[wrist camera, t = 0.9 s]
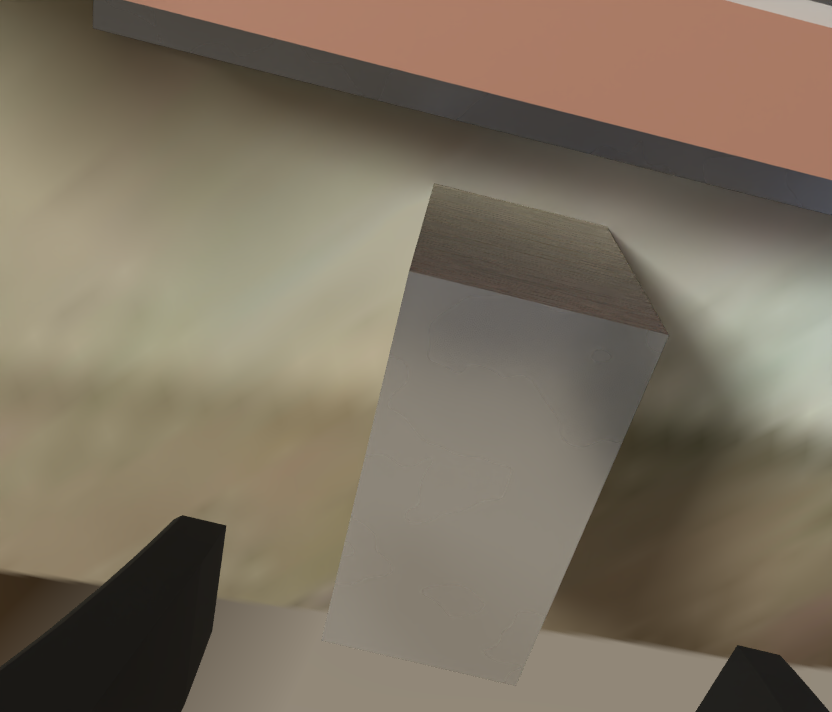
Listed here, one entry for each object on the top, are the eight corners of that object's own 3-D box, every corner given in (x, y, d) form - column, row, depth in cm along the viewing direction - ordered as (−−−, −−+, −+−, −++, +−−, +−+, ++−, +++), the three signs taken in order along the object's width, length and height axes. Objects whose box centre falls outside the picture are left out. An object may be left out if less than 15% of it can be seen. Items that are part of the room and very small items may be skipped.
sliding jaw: (989, 65, 13) (1132, 80, 10) (921, 186, 14) (1033, 231, 11) (87, -170, 13) (-29, -222, 10) (86, -27, 14) (-20, -37, 11)
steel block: (606, 225, 16) (669, 335, 10) (506, 499, 19) (515, 685, 14) (434, 182, 16) (409, 270, 10) (366, 465, 19) (321, 640, 14)
